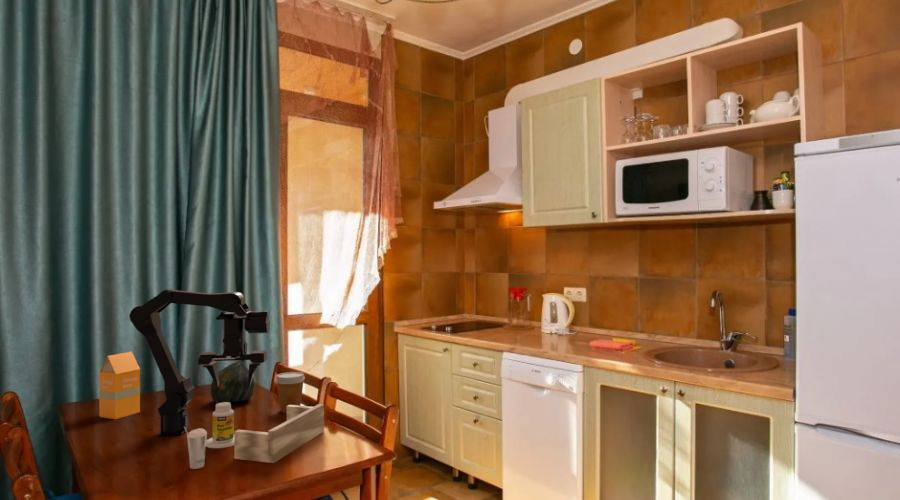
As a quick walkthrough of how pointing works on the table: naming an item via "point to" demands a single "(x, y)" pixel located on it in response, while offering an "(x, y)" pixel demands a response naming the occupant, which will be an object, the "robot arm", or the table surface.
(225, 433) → the supplement bottle
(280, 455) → the wooden u-shaped barrier
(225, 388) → the squash
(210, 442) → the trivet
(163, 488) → the table surface
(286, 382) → the disposable coffee cup
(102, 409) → the orange juice
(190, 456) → the milkshake
